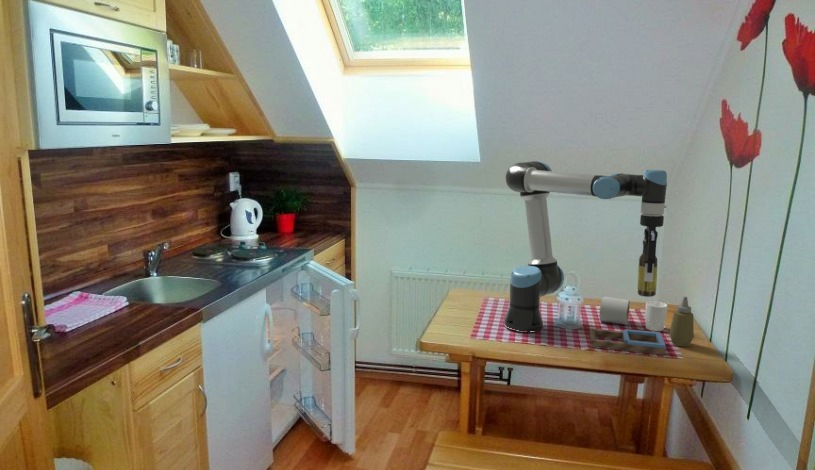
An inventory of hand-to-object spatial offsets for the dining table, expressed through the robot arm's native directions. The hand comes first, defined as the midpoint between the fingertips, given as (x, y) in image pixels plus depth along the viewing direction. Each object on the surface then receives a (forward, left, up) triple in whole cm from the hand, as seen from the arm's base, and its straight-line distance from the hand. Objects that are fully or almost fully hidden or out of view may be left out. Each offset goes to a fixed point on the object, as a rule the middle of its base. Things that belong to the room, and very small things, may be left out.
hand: (647, 278), depth 208 cm
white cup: (+7, +22, -26) cm, 34 cm away
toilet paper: (-8, +25, -26) cm, 36 cm away
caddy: (-5, 0, -25) cm, 26 cm away
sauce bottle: (0, 0, -6) cm, 6 cm away
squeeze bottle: (+14, +6, -26) cm, 30 cm away
